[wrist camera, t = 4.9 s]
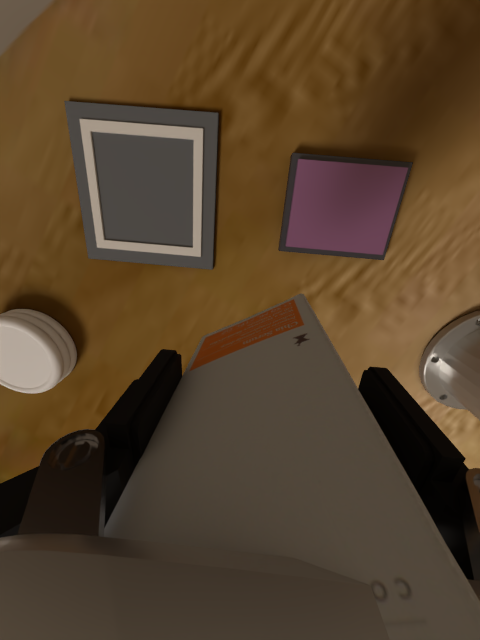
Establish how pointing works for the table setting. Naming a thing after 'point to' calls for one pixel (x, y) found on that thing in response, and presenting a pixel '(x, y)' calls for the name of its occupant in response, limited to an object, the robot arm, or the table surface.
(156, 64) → the table surface
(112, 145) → the mat
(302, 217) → the ink pad
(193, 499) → the skincare box
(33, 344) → the white round disc
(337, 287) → the table surface
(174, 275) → the table surface
